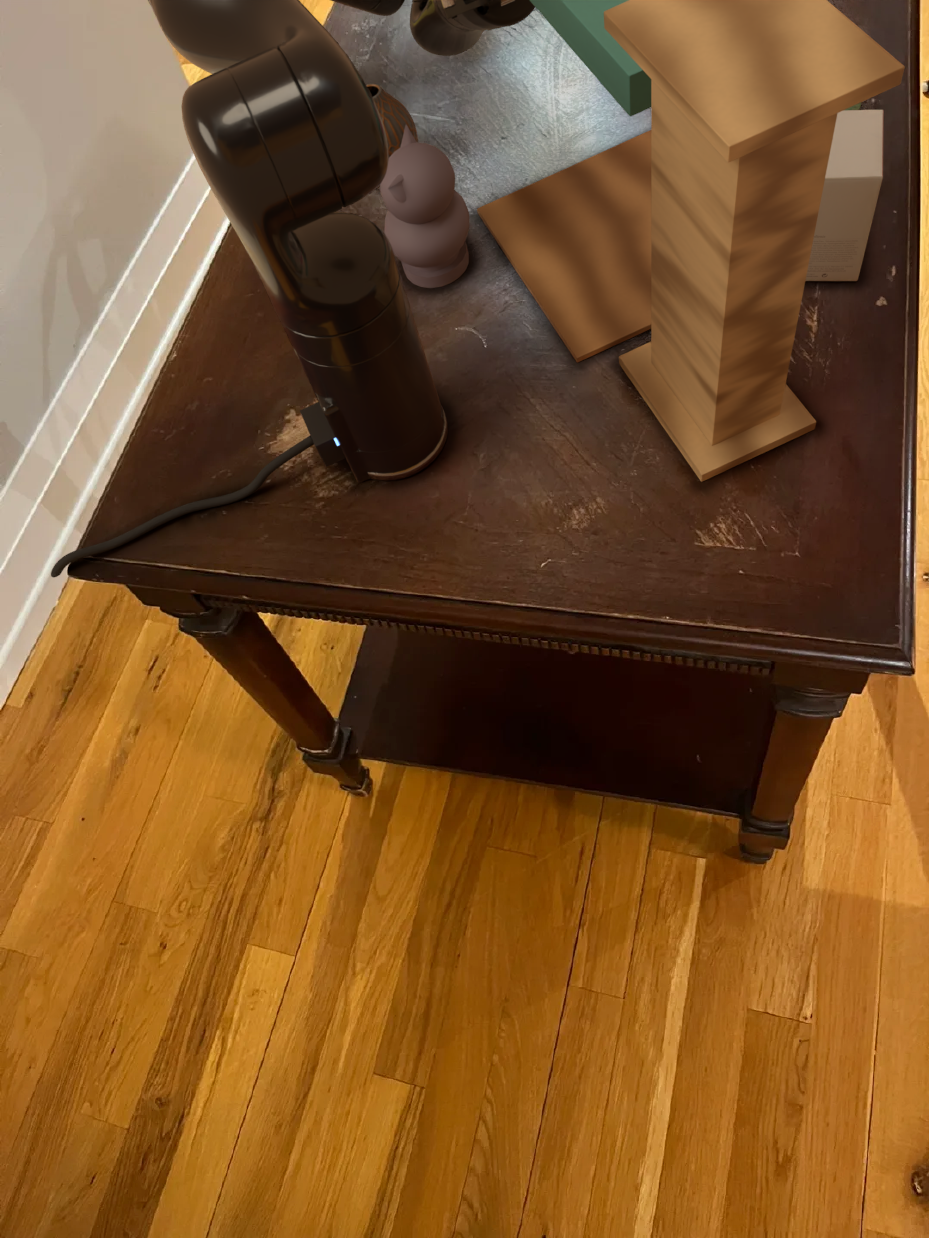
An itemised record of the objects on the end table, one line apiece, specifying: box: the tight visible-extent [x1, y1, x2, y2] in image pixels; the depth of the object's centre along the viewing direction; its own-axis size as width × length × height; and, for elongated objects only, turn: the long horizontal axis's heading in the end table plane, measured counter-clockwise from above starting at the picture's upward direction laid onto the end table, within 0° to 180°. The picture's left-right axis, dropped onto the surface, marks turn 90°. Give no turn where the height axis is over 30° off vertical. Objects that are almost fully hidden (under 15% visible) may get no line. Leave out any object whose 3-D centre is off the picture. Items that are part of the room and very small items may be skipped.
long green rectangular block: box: [530, 0, 651, 118], centre depth 68 cm, size 4×22×3 cm, turn 23°
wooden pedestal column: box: [604, 0, 905, 483], centre depth 64 cm, size 10×14×30 cm
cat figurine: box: [379, 124, 470, 289], centre depth 84 cm, size 8×8×12 cm
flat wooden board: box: [476, 129, 651, 363], centre depth 86 cm, size 20×22×1 cm
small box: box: [805, 109, 885, 282], centre depth 77 cm, size 8×6×10 cm
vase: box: [365, 82, 419, 157], centre depth 93 cm, size 7×7×9 cm
